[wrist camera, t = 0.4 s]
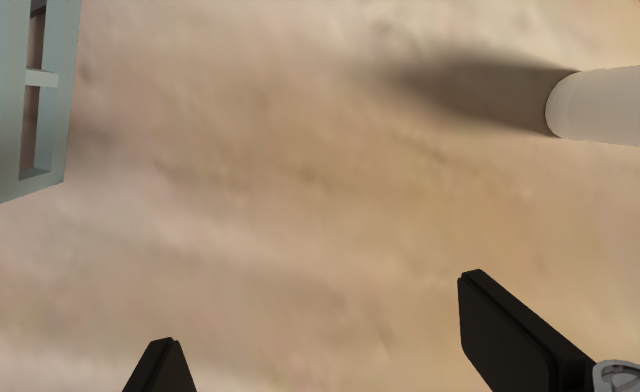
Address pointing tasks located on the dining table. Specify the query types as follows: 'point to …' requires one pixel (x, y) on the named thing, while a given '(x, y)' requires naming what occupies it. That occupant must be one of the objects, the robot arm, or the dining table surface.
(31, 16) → the gate frame
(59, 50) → the gate
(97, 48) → the dining table surface
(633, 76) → the bottle
